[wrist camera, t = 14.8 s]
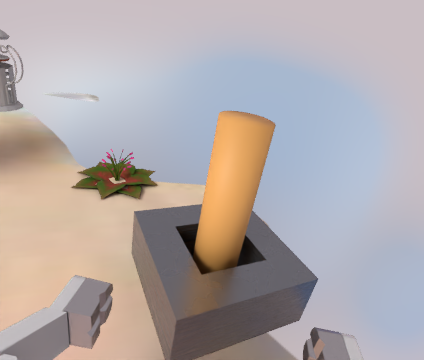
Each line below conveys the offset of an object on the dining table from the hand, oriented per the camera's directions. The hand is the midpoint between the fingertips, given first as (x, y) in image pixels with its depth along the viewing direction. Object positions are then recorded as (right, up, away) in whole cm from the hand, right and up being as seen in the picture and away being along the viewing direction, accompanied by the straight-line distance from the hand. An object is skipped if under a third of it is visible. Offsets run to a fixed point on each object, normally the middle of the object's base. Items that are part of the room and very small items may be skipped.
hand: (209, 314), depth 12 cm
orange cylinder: (0, -4, +16) cm, 16 cm away
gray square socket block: (0, -4, +16) cm, 16 cm away
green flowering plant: (-14, +5, +30) cm, 34 cm away
